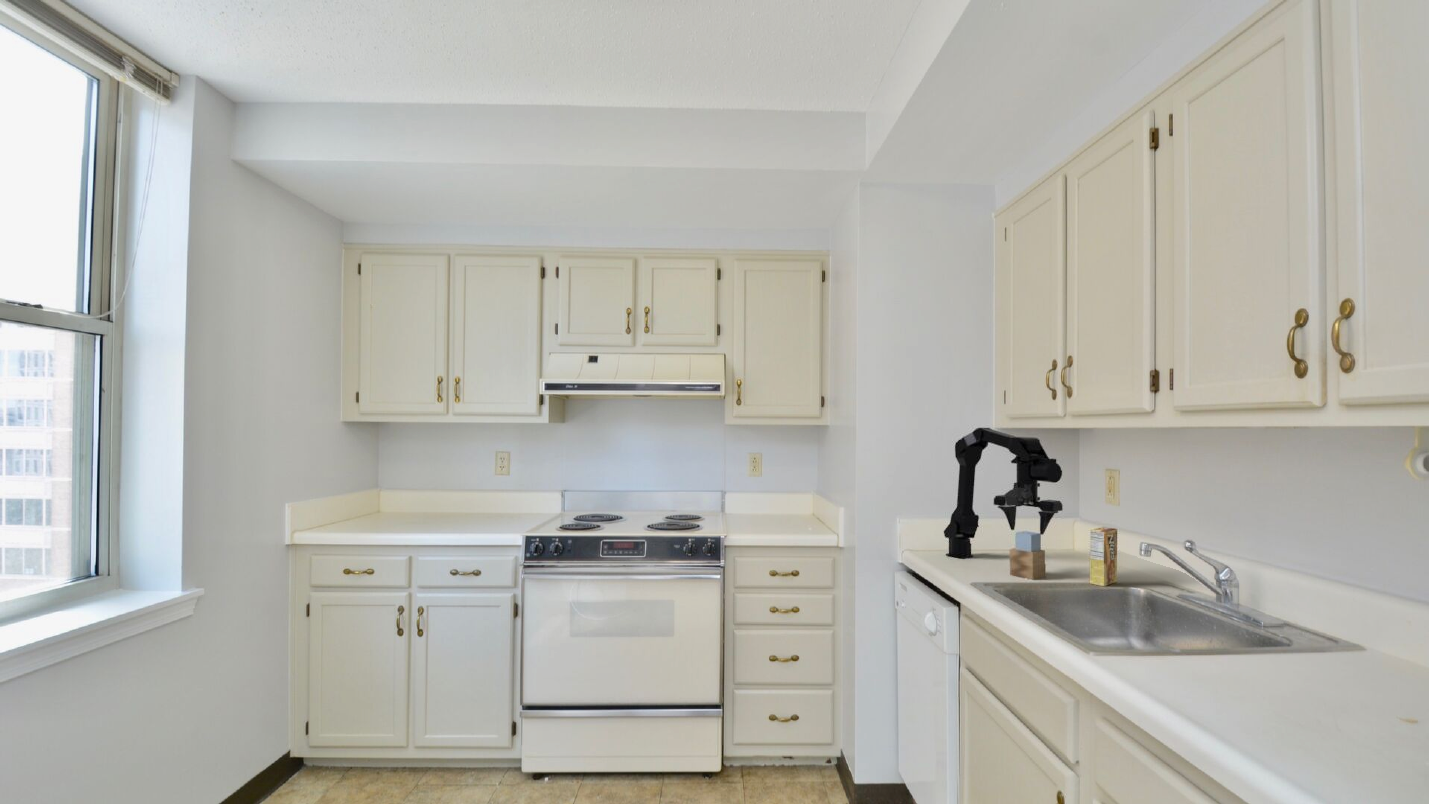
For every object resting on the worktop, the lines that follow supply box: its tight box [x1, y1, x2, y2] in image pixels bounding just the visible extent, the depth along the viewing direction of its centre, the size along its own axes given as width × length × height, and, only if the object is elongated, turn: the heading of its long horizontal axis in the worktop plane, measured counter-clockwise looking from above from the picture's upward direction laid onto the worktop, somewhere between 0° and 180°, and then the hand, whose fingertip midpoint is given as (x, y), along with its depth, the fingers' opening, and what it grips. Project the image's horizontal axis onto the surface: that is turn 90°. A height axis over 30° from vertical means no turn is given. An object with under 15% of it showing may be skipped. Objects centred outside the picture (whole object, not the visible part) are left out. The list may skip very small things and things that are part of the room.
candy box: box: [1089, 526, 1118, 587], centre depth 196 cm, size 9×4×15 cm, turn 129°
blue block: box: [1014, 530, 1042, 552], centre depth 204 cm, size 5×5×5 cm
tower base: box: [1009, 562, 1047, 581], centre depth 204 cm, size 7×7×4 cm
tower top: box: [1009, 547, 1046, 567], centre depth 204 cm, size 7×7×4 cm
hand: (1027, 532), depth 205 cm, fingers open, 9 cm apart
